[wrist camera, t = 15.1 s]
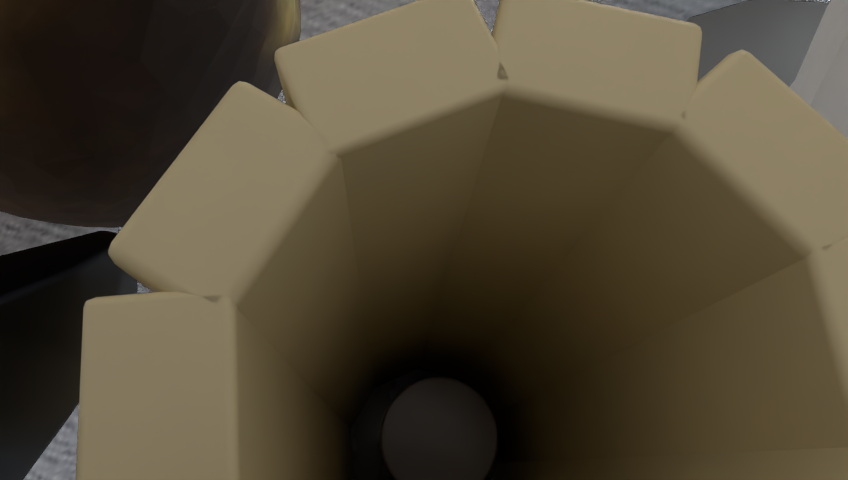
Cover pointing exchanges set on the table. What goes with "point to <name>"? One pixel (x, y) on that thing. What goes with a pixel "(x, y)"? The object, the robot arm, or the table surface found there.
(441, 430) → the brown peg stand
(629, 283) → the tube
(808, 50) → the cup
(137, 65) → the sculpture
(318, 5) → the table surface
